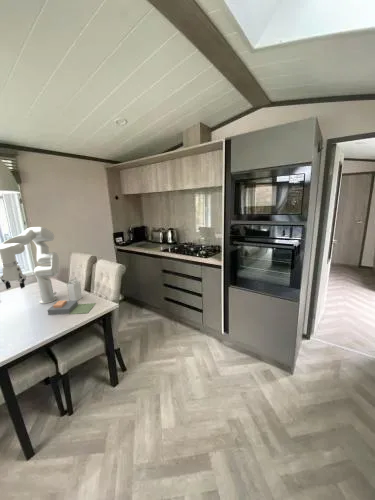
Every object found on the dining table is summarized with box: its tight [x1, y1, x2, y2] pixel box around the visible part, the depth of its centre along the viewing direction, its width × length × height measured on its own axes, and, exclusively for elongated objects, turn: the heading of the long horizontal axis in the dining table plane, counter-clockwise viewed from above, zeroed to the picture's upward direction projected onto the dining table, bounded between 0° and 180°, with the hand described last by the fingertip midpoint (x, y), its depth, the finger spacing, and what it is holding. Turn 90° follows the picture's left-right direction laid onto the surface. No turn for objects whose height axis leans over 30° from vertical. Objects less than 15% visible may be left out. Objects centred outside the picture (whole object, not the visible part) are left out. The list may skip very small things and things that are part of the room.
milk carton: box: [66, 277, 83, 302], centre depth 188 cm, size 7×7×19 cm
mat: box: [68, 302, 96, 315], centre depth 172 cm, size 16×14×1 cm
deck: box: [46, 300, 79, 316], centre depth 172 cm, size 14×16×4 cm
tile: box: [52, 300, 68, 308], centre depth 171 cm, size 8×6×2 cm
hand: (15, 288), depth 149 cm, fingers open, 9 cm apart
